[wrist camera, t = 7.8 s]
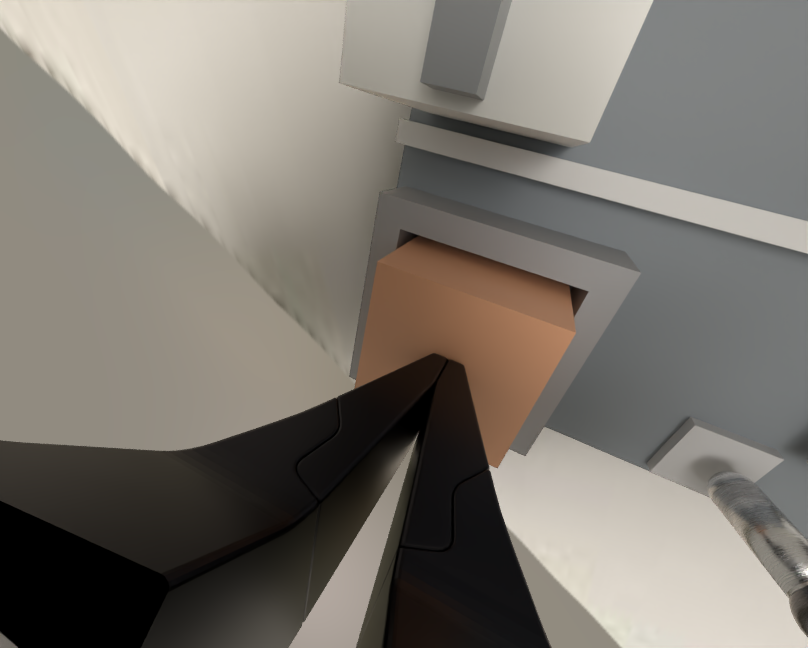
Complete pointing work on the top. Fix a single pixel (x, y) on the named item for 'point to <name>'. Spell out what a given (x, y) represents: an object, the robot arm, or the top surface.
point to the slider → (495, 59)
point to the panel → (654, 245)
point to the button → (469, 329)
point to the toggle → (766, 536)
